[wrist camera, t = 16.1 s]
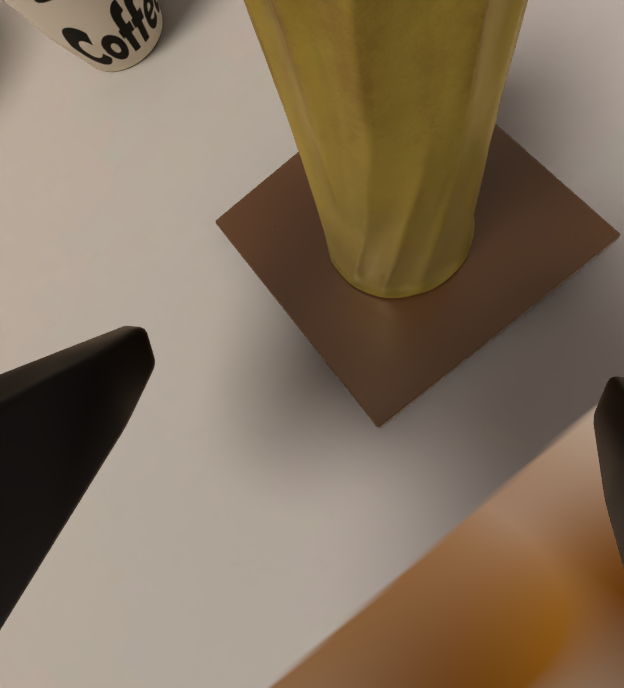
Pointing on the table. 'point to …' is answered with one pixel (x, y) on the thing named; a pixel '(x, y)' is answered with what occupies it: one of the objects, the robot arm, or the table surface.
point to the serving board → (426, 308)
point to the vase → (392, 124)
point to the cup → (98, 28)
